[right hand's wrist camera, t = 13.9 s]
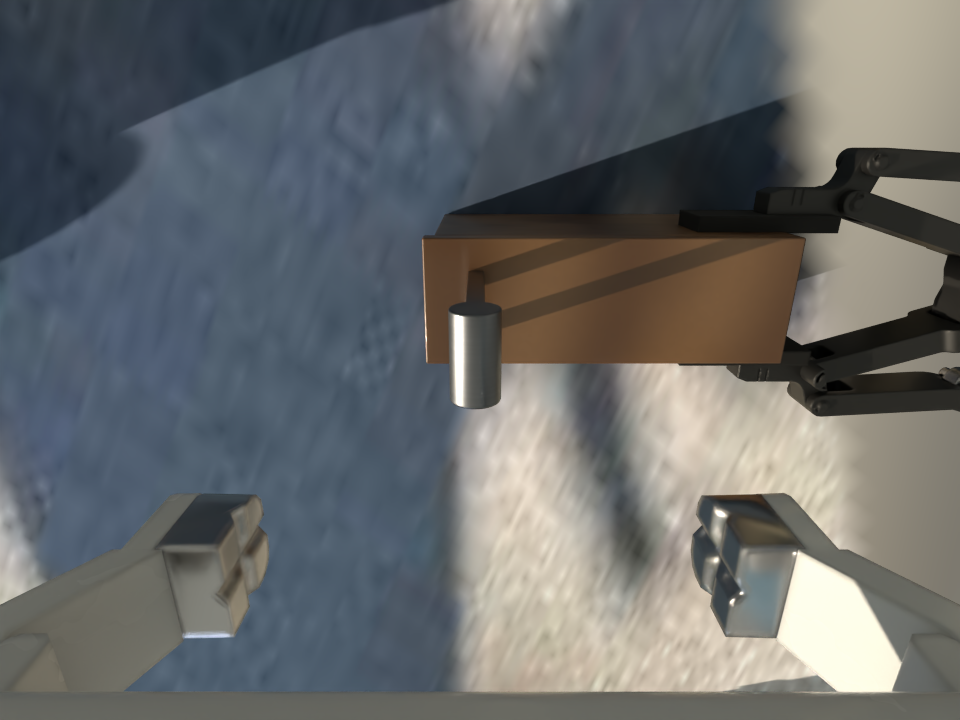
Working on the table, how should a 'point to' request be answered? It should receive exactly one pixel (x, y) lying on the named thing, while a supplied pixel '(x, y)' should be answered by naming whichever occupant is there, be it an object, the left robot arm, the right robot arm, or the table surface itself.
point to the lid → (602, 302)
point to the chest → (571, 225)
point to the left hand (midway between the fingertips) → (680, 288)
